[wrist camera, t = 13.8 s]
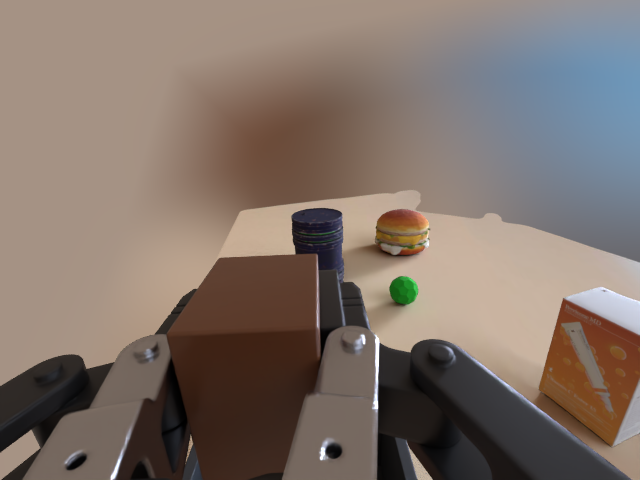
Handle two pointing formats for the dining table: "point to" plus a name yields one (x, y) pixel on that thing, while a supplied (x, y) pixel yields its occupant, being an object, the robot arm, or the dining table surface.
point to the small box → (597, 363)
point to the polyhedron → (403, 290)
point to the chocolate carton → (248, 361)
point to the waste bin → (391, 461)
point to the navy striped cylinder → (320, 237)
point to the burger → (402, 232)
